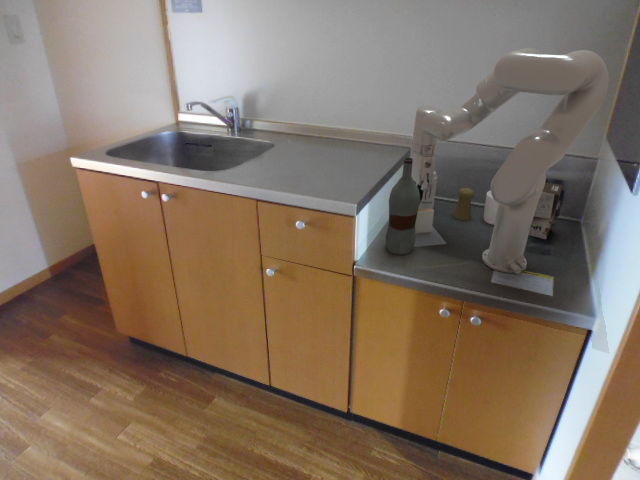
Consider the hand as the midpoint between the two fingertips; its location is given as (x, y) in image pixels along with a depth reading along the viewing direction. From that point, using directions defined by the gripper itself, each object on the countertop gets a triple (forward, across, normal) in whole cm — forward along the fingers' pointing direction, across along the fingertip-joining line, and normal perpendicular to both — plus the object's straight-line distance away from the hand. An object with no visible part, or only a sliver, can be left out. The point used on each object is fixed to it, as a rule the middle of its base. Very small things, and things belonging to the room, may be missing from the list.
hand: (416, 199), depth 149 cm
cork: (+10, +2, -19) cm, 22 cm away
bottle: (+10, -14, +10) cm, 20 cm away
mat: (+10, -8, -1) cm, 12 cm away
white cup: (+10, -2, -29) cm, 31 cm away
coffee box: (+9, -12, -40) cm, 43 cm away
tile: (+9, -6, -1) cm, 11 cm away
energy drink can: (+10, +10, -8) cm, 16 cm away
